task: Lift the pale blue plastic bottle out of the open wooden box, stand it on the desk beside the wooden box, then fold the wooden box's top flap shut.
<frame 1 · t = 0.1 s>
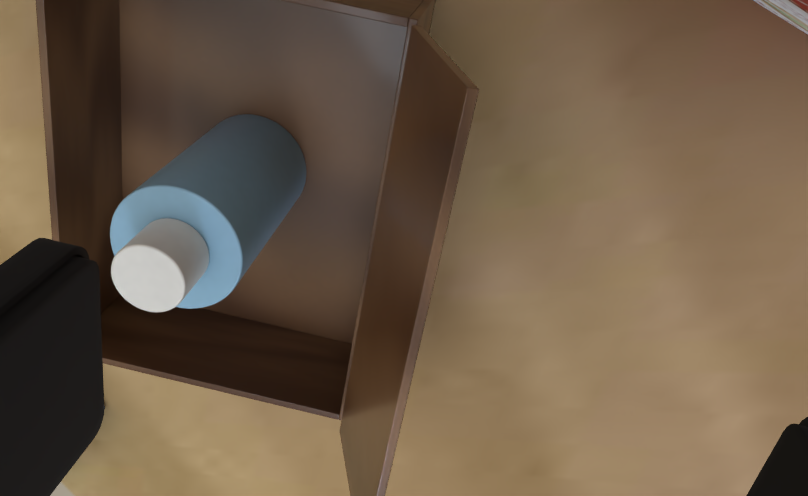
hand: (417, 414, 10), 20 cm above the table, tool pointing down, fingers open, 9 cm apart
wooden box: (257, 163, 31), on the table
bottle: (254, 165, 30), resting on wooden box
flap: (389, 308, 23), point 9 cm above the table, hinge at 110.0°
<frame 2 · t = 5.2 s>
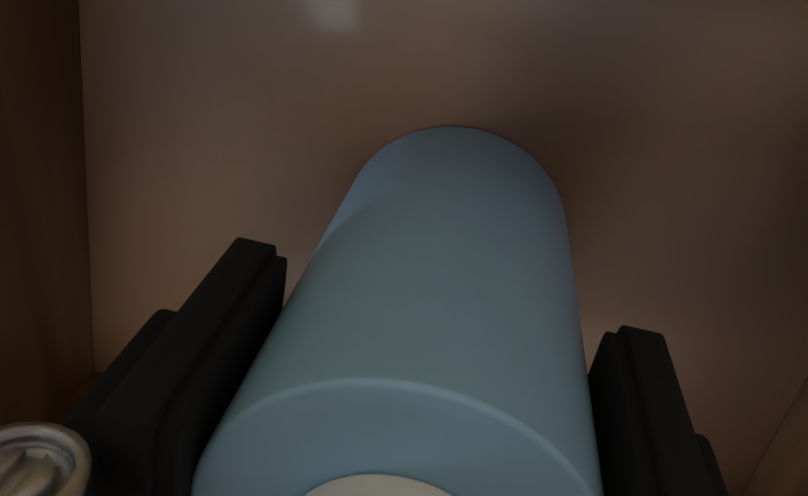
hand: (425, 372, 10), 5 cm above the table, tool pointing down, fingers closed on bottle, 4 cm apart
wooden box: (454, 226, 15), on the table
bottle: (452, 232, 15), resting on wooden box, touching gripper
when the fingers open (5 cm above the table, at t = 11.8 s): bottle stays where it is, on the table.
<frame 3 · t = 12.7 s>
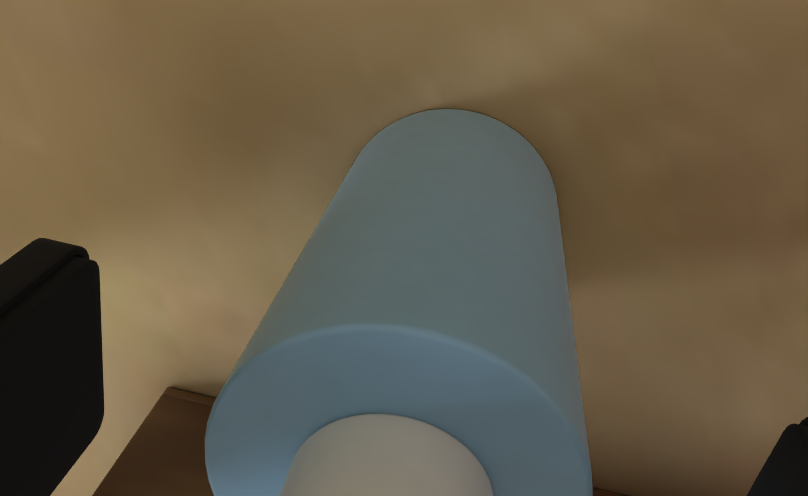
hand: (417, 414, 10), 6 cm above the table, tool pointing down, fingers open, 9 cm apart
bottle: (449, 211, 15), on the table
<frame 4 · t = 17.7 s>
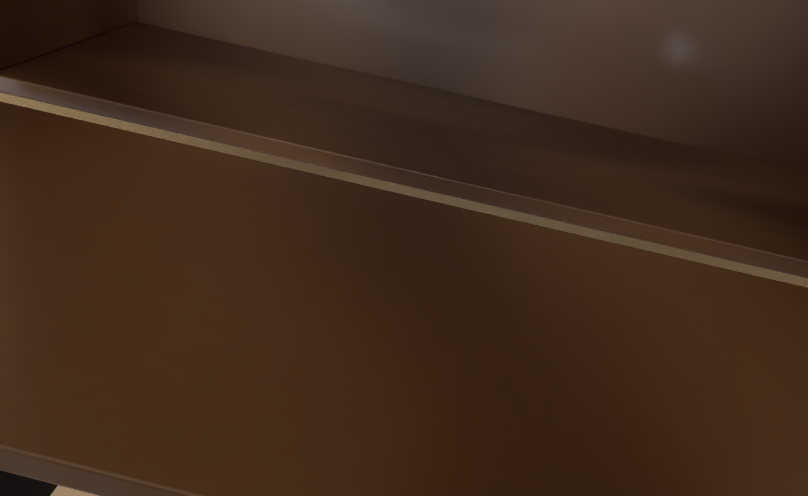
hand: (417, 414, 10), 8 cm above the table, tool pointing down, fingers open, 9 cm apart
flap: (442, 332, 8), point 9 cm above the table, hinge at 91.4°, touching gripper
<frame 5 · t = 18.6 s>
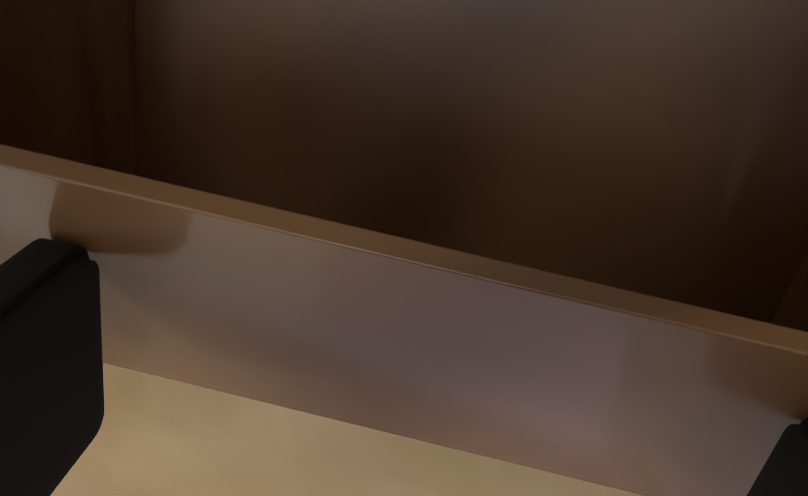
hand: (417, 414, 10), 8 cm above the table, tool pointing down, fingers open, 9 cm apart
wooden box: (499, 28, 15), on the table
flap: (426, 366, 10), point 7 cm above the table, hinge at 30.2°, touching gripper
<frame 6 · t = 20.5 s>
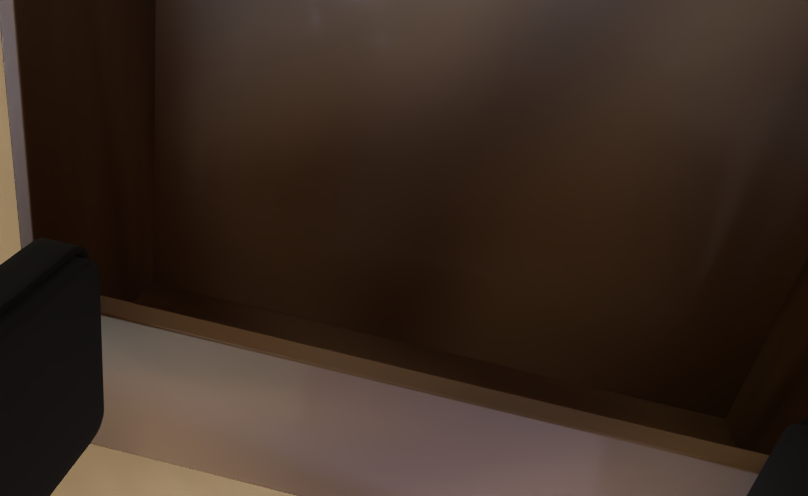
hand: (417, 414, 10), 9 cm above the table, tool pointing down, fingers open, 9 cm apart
wooden box: (483, 139, 17), on the table
flap: (414, 462, 12), point 7 cm above the table, hinge at 25.4°, touching gripper
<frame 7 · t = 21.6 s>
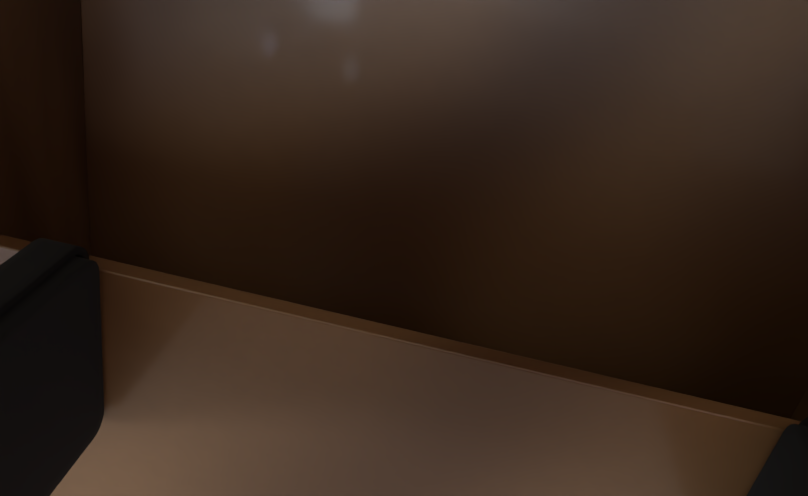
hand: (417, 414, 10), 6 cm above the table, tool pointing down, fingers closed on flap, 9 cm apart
wooden box: (469, 176, 14), on the table
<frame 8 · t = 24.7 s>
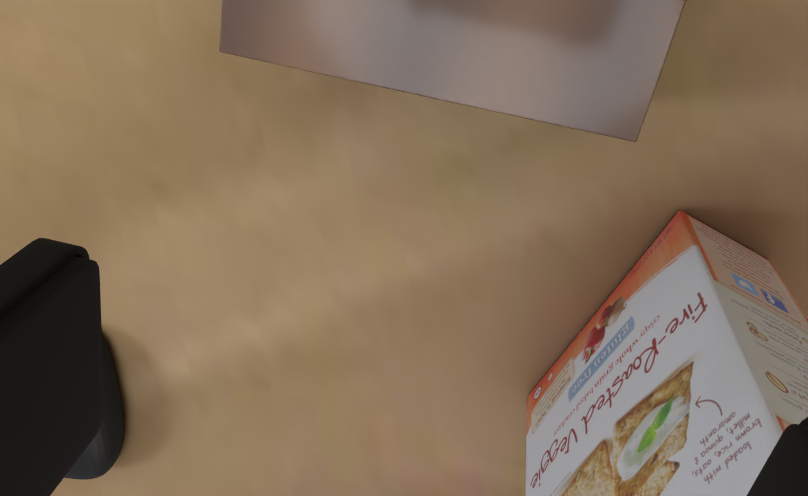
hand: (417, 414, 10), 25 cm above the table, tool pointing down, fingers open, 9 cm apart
cracker box: (635, 330, 38), on the table
computer mouse: (74, 393, 46), on the table
flap: (441, 14, 26), point 6 cm above the table, hinge at -0.5°
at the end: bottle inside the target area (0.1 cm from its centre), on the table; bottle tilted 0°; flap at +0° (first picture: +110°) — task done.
